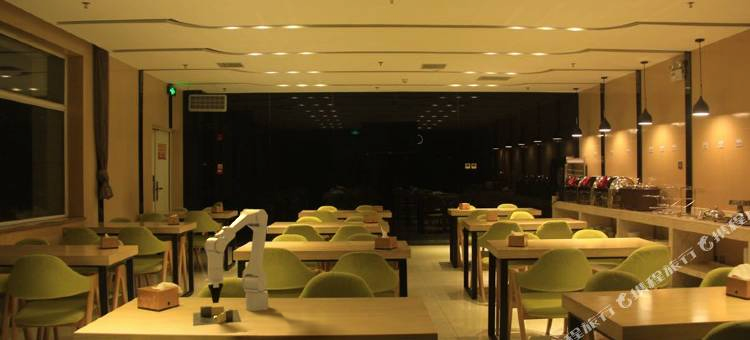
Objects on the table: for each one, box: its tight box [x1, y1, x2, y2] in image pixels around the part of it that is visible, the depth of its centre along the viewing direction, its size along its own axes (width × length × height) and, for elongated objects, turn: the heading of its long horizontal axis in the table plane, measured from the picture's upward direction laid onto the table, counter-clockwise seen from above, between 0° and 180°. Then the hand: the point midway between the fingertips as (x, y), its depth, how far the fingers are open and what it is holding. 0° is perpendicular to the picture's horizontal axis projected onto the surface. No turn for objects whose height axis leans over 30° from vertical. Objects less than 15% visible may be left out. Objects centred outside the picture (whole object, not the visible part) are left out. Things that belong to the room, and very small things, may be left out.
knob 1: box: [199, 305, 225, 316], centre depth 239 cm, size 9×4×4 cm, turn 107°
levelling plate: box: [192, 309, 242, 327], centre depth 234 cm, size 18×22×2 cm
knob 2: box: [217, 308, 234, 323], centre depth 228 cm, size 9×4×4 cm, turn 166°
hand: (215, 302), depth 228 cm, fingers closed
